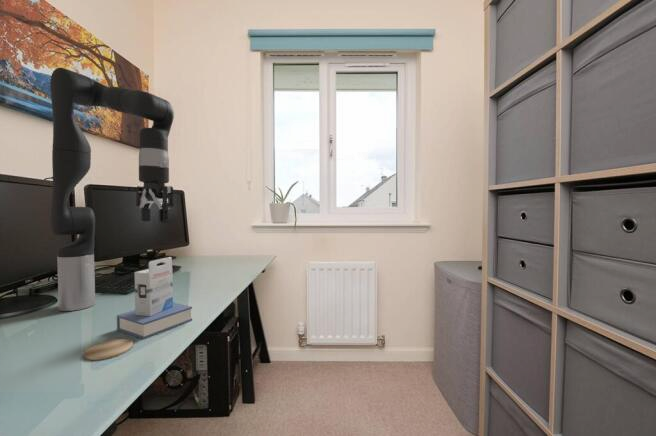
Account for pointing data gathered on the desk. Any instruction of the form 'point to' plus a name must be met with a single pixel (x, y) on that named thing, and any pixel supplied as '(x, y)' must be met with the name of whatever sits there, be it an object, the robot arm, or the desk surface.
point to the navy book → (153, 321)
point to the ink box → (154, 288)
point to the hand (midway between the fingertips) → (154, 222)
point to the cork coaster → (108, 349)
